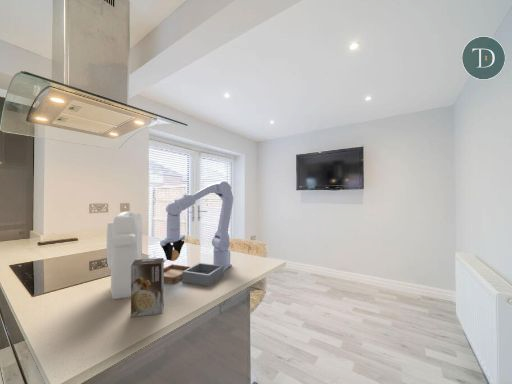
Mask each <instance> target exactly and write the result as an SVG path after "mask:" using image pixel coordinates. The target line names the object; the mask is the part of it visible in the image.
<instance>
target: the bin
mask: <svg viewBox="0 0 512 384" xmlns="http://www.w3.org/2000/svg"><path fill="white" fill-rule="evenodd" d="M189 267H190V268H188V269H186V270H184V271H182V280H181V282H182V283H184V284H186V283H187V284H191V285H199V286H204V287H211V285H213V284H214V283H216V282H217V281H218V280H219V279H221V278H222V277H224V271H223V269H224V266H221V265H213V264H212V263H211V264H210V263H205V262H204V263H202V262H198V263H196V264H194V265H192V266H189Z"/></svg>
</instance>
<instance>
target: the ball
mask: <svg viewBox="0 0 512 384" xmlns="http://www.w3.org/2000/svg"><path fill="white" fill-rule="evenodd" d="M179 257H180V255H179V253H178V251H176V250H174V249H173V251H172V259H171V260H169V261H170V262H174V261H177V260H178V259H179Z"/></svg>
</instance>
